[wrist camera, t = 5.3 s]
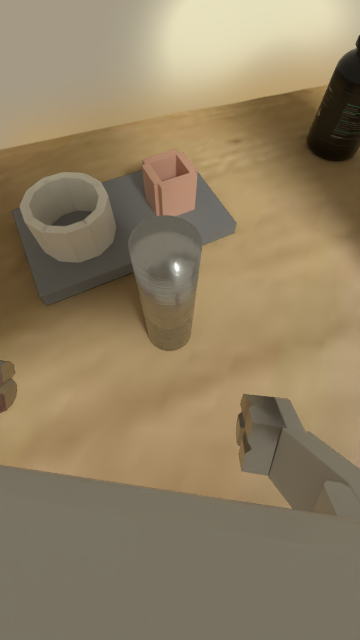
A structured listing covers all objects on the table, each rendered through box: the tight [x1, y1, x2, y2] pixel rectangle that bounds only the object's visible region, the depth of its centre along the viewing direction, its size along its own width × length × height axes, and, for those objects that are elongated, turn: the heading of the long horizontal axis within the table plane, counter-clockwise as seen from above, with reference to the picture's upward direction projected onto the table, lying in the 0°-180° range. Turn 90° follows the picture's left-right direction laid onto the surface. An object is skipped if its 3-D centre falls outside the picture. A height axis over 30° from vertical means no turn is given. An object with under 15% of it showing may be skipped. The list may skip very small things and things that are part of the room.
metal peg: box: [128, 215, 202, 351], centre depth 21 cm, size 4×4×12 cm
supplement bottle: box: [307, 35, 360, 161], centre depth 33 cm, size 7×7×12 cm
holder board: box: [12, 149, 237, 305], centre depth 29 cm, size 21×12×6 cm, turn 116°
